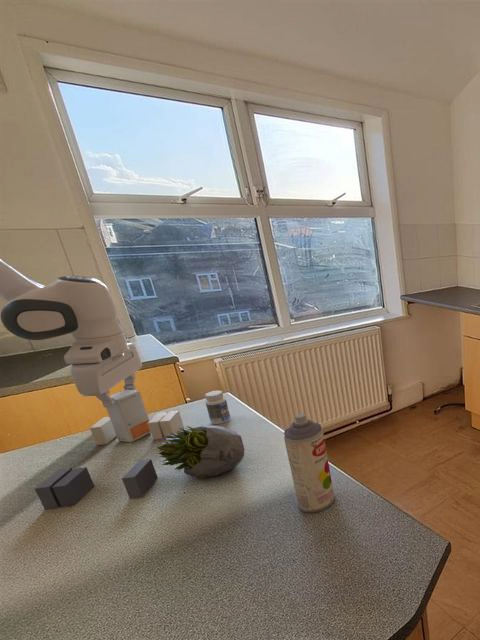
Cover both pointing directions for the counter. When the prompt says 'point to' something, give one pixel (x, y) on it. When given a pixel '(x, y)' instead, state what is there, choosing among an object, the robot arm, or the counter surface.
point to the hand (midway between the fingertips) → (121, 398)
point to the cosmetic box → (129, 416)
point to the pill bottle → (217, 407)
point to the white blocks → (157, 425)
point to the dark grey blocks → (91, 484)
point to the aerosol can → (309, 465)
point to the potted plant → (203, 450)
